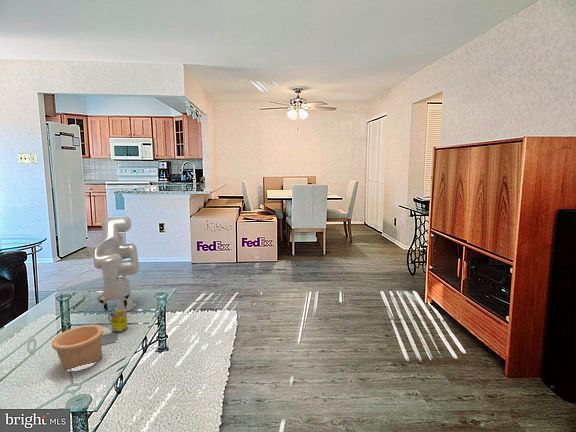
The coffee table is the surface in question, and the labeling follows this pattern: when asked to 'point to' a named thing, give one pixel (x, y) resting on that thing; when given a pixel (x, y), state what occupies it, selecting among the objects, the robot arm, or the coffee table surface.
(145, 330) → the coffee table surface
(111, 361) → the coffee table surface
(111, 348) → the coffee table surface
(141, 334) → the coffee table surface
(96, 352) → the pottery
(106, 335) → the mat
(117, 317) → the supplement box
